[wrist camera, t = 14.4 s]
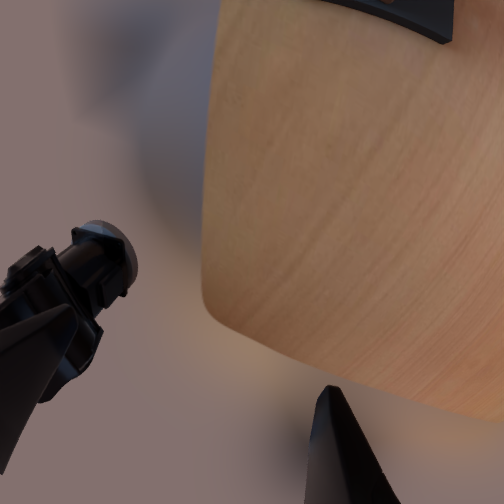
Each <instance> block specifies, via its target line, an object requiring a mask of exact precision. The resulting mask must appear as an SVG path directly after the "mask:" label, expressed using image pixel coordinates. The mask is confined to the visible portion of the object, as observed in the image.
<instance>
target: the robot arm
mask: <svg viewBox="0 0 504 504" xmlns="http://www.w3.org/2000/svg"><path fill="white" fill-rule="evenodd" d="M75 231H76V232H75ZM71 233H72V243H73V244H72V245H70V246H69V247H68V248H67V249H65V250H64V251H62V252H61V253H60V254H58V255H57V256H56V254H55V253H56V252H55V250H54V248H53V247H51V248H50V249H48V250H46V249H43V248H42V247H40V246H39V245H38V246H37V247H35V248H34V249H32V250H31V251H29V252H28V253H27V254H25V255H24V256H23V257H21V258H20V259H19V260H18V261H17V262H15V263H14V264H13V265H12V266H10V267H9V268H8V273H7V278H5V280H4V283H3V284H2V285H1V286H0V291H1V293H2V295H1V296H0V474H1V475H3V473H4V471H5V469H6V466H7V464H8V461H9V459H10V457H11V454H12V452H13V450H14V448H15V446H16V444H17V442H18V440H19V437H20V435H21V433H22V431H23V429H24V427H25V425H26V423H27V421H28V419H29V417H30V415H31V413H32V412H33V410H34V408H35V406H36V404H37V403H44V402H47V401H50V400H51V399H52V398H53V397H54V396H55V395H56V394H57V392H58V391H59V390H60V389H61V388H62V387H63V386H64V385H65V384H66V383H68V382H69V381H70V380H71V379H74V378H76V377H78V376H79V375H81V374H82V373H83V372H84V371H85V370H86V369H87V368H88V367H89V365H90V363H91V362H92V360H93V357H94V355H95V352H96V350H97V347H98V345H99V342H100V340H101V337H102V335H103V332H104V331H103V329H102V328H101V326H99V325H98V324H97V322H96V321H95V318H96V316H97V315H98V314H99V313H100V312H101V310H102V309H103V308H105V309H107V308H109V306H110V305H111V304H112V303H113V301H114V300H115V299H116V298H117V297H118V296H120V297H126V295H127V294H128V289H127V285H128V277H127V264H126V257H125V243H124V241H123V240H122V239H120V238H116V237H112V236H108V235H104V234H101V233H97V232H93V231H89V230H86V229H82V228H78V227H75V228H73V229H72V231H71ZM118 243H119V244H120V245H121V246H120V245H119V244H118ZM304 504H401V503H400V502H399V500H398V498H397V497H396V495H395V493H394V492H393V490H392V488H391V486H390V484H389V482H388V480H387V479H386V476H385V475H384V473H382V469H381V467H380V465H379V463H378V461H377V459H376V457H375V455H374V453H373V451H372V449H371V447H370V445H369V443H368V441H367V439H366V437H365V435H364V433H363V431H362V429H361V427H360V426H359V424H358V422H357V420H356V418H355V416H354V414H353V412H352V410H351V408H350V406H349V404H348V402H347V401H346V398H345V397H344V395H343V393H342V391H341V389H340V388H339V387H337V386H332V385H327V386H326V387H325V389H324V390H323V391H322V393H321V394H320V396H319V397H318V399H317V403H316V408H315V414H314V419H313V425H312V431H311V436H310V442H309V453H308V467H307V479H306V490H305V500H304Z"/></svg>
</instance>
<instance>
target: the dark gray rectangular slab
mask: <svg viewBox="0 0 504 504" xmlns="http://www.w3.org/2000/svg"><path fill="white" fill-rule="evenodd" d="M322 1H327V2H331V3H335V4H339V5H343V6H346V7H350V8H353V9H357V10H360V11H363V12H366V13H369V14H372V15H375V16H378V17H381V18H384V19H386V20H389V21H391V22H394V23H397V24H399V25H402V26H404V27H406V28H409V29H411V30H413V31H415V32H418V33H420V34H422V35H424V36H426V37H428V38H430V39H432V40H434V41H436V42H438V43H440V44H445V43H448V42H450V41H452V32H453V14H454V0H394V1H393V2H392V3H390V4H386V3H383V2H382V1H380V0H322Z"/></svg>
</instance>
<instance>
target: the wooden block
mask: <svg viewBox="0 0 504 504" xmlns="http://www.w3.org/2000/svg"><path fill="white" fill-rule="evenodd" d="M380 1H382V2H383V3H386V4H390V3H392V2H393V1H394V0H380Z"/></svg>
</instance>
